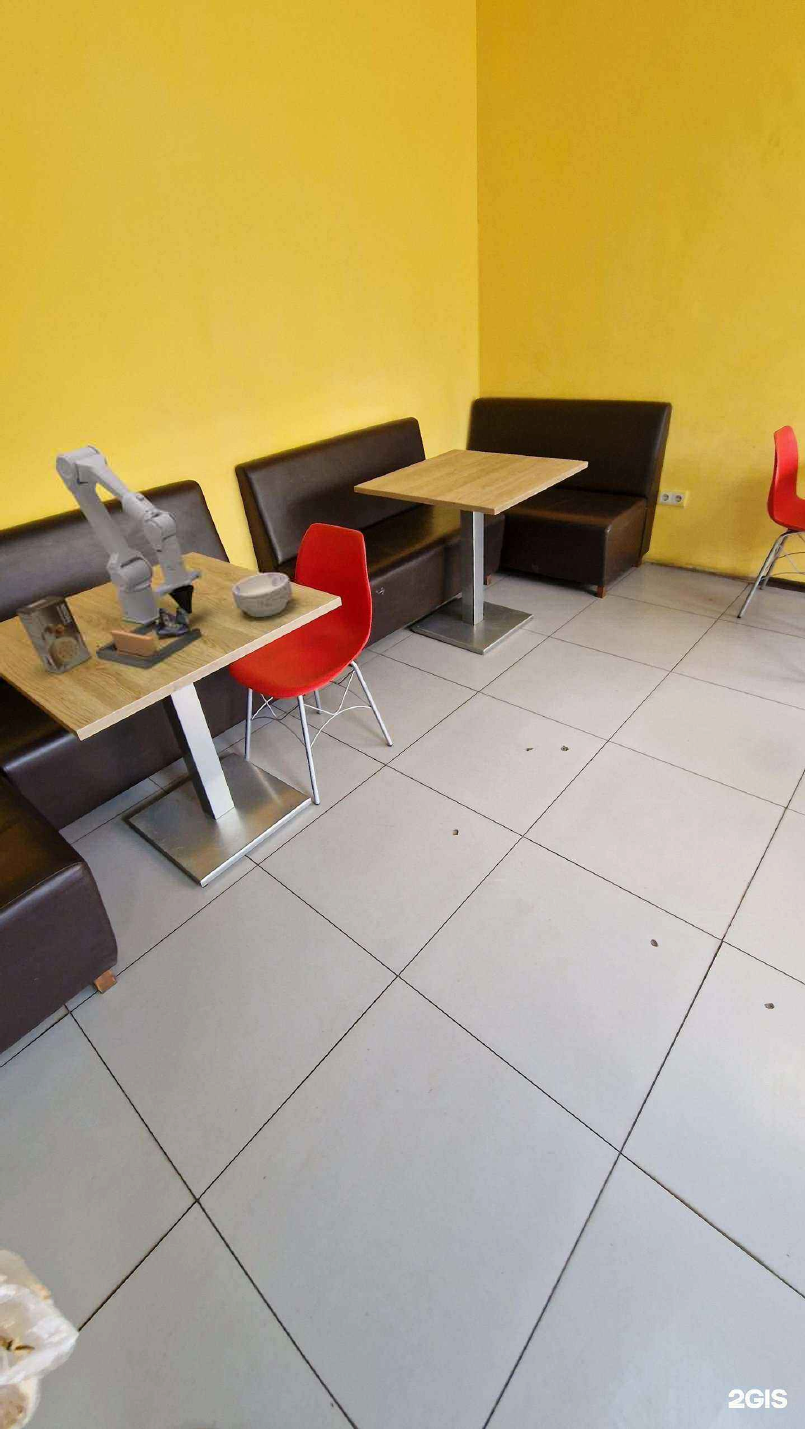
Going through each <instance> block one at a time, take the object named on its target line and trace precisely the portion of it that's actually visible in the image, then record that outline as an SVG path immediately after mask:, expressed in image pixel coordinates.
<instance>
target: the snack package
mask: <svg viewBox="0 0 805 1429" xmlns="http://www.w3.org/2000/svg"><path fill="white" fill-rule="evenodd" d="M175 610H176V612H175V613H172V612H170V611H168V610H166V609H164V608H162V607H159V618H158V622H157V623H156V624H157V625H156V629H154V630H155V631H154V632H155V633H156V636H157V637H160V636H163V635H168V634H169V635H173V637H181V636H183V635H185V634H187V633H188V632H190V631H192V630H191V627H190V626H189V625H190V624H189V623H190V614H188V613H187V612H186V611H185V610H183V609H182V608H180V607H179V606H178V607H176V609H175ZM159 639H161V638H159Z"/></svg>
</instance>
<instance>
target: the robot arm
mask: <svg viewBox="0 0 805 1429" xmlns="http://www.w3.org/2000/svg"><path fill="white" fill-rule="evenodd" d="M55 470H56V472H57V474H58V475H59V477H60V479H61V480H62V482H63V484H64V485H65V487H66V489H67V490H68V492H71V495H72V496H73V498H74V500H75V501H76V502H77V504H78V506H79V507H80V510H81V511H82V512H83V514H84V516H85V517H86V519H87V521H88V522H89V524H90V526H91V528H92V529H93V531H94V532H95V533H96V535H97V537H98V539H99V541H100V542H101V544H102V545H103V548H105V550H106V552H107V553H108V555H109V559H108V563H107V564H106V567H105V568H106V570H107V572H108V574H109V576H110V580H111V583H112V584H113V586H114V587H115V588H116V589H117V590H118V591H117V598H118V602H119V603H120V607H121V609H122V612H123V615H124V617H123V618H122V620H123V621H125V622H132V623H136V624H141V625H143V624H145V623H146V622H148V621H150V620H155V621H156V619H159V608H160V607H159V604H158V601H157V599H163V598H164V597H165V596H166V595H168V596H170V597H171V598H172V599H173V601H174V602H175V603H176V604H177V605H178V607H180V608H182V609H183V610H185V611H186V612H187V613H188V615H191V614H192V613H193V603H192V602H193V596H194V595H193V593H194V590H195V587H194V585H193V584H192V582H193V581H195V580H197V579H201V578H202V577H203V575H202V572H201V570H200V569H193V570H191V571H188V572H187V568H186V565H185V561H184V558H183V554H182V551H181V549H180V545H179V542H178V538H177V536H176V535H177V534H178V532H179V525H178V521H177V520H176V518H175V517H174V516H173V514H172V513H170V512H169V511H163V510H162V509H158V508H157V507H156V506H155V505H153V503H151V501H150V500H148V499H147V498H146V497H145V496H144V495H143V494H142V493H141V492H140V491H139V492H138V491H132V490H131V489H129V487H128V486H127V485H126V484H125V483H124V482H123V481H122V480H121V479H120V478H119V477H118V475H116V473H115V472H113V470H112V469H111V468H110V467H109V466H108V461H107V458H106V456H105V455H104V454H102V453H101V451H100V450H99V449H98V448H96V446H93V445H87V446H85V447H82V448H78V449H75V450H71V451H68V452H64V453H59V454H57V455H56V458H55ZM97 484H98V485H100V486H101V487H103V489H105V490H106V491H108V492H109V493H110V494H112V496H114V497H115V498H117V499H118V500H119V501H120V502H121V505H122V509H123V511H124V513H126V514H128V515H129V516H130V518H132V519H133V520H134V521H135V522H136V523H138V525H140V526H141V527H142V528H143V530H142V532H143V534H144V537H146V539H147V540H148V541H149V543H150V546H151V547H152V549H153V550H154V551H155V554H156V556H157V560H158V563H159V565H160V569H161V572H162V575H163V578H164V580H165V582H163V583H162V584H161V585H159V587H157V588H156V589H154V590H153V586H152V584H151V583H152V582H153V581H152V578H153V576H154V568H153V566H152V564H151V562H149V560H147V559H146V558H145V557H144V555H143V554H142V552H141V551H139V550H136V549H134V548H131V547H130V546H129V544H128V543H127V542H126V539H125V538H124V536H123V535H122V533H121V531H120V530H119V528H118V526H117V524H116V523H115V521H114V519H113V518H112V516H111V515H110V513H109V511H108V509H107V507H106V506H105V504H104V503H103V501H102V500H101V498H100V496H99V494H98V493H97V491H96V487H97ZM126 562H127V563H126ZM124 563H125V564H124Z"/></svg>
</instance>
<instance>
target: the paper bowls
mask: <svg viewBox="0 0 805 1429" xmlns="http://www.w3.org/2000/svg"><path fill="white" fill-rule="evenodd" d="M231 593H232V595H233V600H234V602H235V605H236V607H237V608H238V610H241V611H244V612H246V613H247V614H248V615H249V616H251V617H255V618H265V617H270V616H274V615H276V614H279V613H280V612H282V611H283V610H285V608H286V606H287V602H289V601H290V599H291V598H292V597H293V590H292V586H291V581H290V578H289V576H288V575H286V574H284V573H281V572H264V573H258V574H254V575H251V576H248V577H247V576H246V577H245V578H242V579H241V580H239V581H238V582H236V583H235V584H234V585H233V586H232V588H231Z"/></svg>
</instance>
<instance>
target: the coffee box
mask: <svg viewBox="0 0 805 1429" xmlns="http://www.w3.org/2000/svg"><path fill="white" fill-rule="evenodd" d="M15 612H16V614H17V615H18V618H19V620H20V621H21V623H22V626H23V628H24V631H25V632H26V634H27V635H28V636H27V637H28V638H29V640H30V642H31V644H32V646H33V648H34V650H35V652H36V653H37V656H38V658H39V660H40V663H41V664H42V666H43V668H44V670H45V671H48V672H51V673H54V674H57V675H61V674H63V673H66V672H67V671H68V670H70V669H73V668H74V667H76V666H78V665H80V664H82V663H83V662H85V661H87V660H89V659H92V656H91V653H90V651H89V649H88V647H87V644H86V642H85V640H84V638H83V636H82V634H81V632H80V629H79V627H78V624H77V623H76V620H75V617H74V616H73V614H72V611H71V609H70V607H69V604H68V602H67V600H66V598H64V597H61V596H55V595H48V596H46V597H44V598H41V599H39V600H35V601H34V602H32V603H29V604H27V605H24V606H23V607H20V608H18V609H16V610H15Z"/></svg>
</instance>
